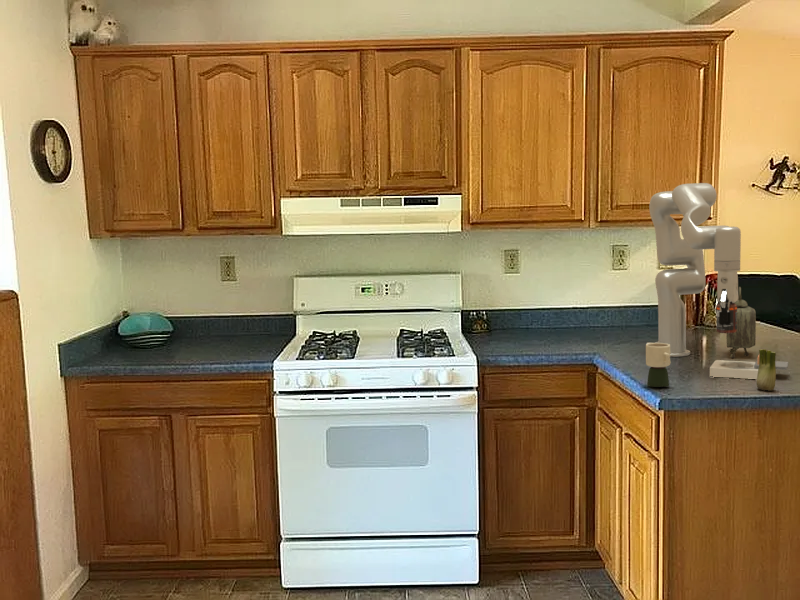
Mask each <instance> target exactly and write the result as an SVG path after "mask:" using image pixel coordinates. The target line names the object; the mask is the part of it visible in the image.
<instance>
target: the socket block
mask: <svg viewBox="0 0 800 600" xmlns="http://www.w3.org/2000/svg"><path fill="white" fill-rule="evenodd" d="M755 363H756V361H741V360H740V361H739V360H723V359H721V360H720V359H715V360H714V362H713V363H712V364H711V365H710V367H709V377H710V376H713V377H712V378H714V377H734V378H748V379H757V375H758V369H759V368H754V365H755Z"/></svg>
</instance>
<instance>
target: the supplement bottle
mask: <svg viewBox="0 0 800 600" xmlns="http://www.w3.org/2000/svg"><path fill="white" fill-rule="evenodd" d="M720 299H721V298H720ZM726 302H728V301H726ZM719 312H720V303H719V302H718V303H717V304H716V315H715V317H716V325H715V326H716V332H717V333H718V334H727V333H735V332H736V331H737V305H736V304H735V303H732V302H730V312H731V324H730V325H720V324H719Z"/></svg>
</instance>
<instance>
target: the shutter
mask: <svg viewBox="0 0 800 600" xmlns="http://www.w3.org/2000/svg"><path fill="white" fill-rule="evenodd" d="M755 362H756V363H755V365H754V368H759V354H758V355H757V360H756V361H755ZM775 366H776V370H784V371H785V370H786V371H787V370H788V366H789V361H780V360H779V361H777V360H775Z"/></svg>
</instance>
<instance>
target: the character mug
mask: <svg viewBox="0 0 800 600" xmlns="http://www.w3.org/2000/svg"><path fill="white" fill-rule="evenodd" d="M670 353H671V352H670V344H665V343H656V342H652V343H650V344H647V343H646V344H645V366H647V367H649V369H648V375H647V386H648V387H653V388H656V387H657V388H658V387H659V388H660V387H662V388H663V387H670V381H669V380H670V379H669V378H670V377H669V373H668V369H667V368H666V367H668V366H670V365H671V364H672V363H671V357H670Z"/></svg>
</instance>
